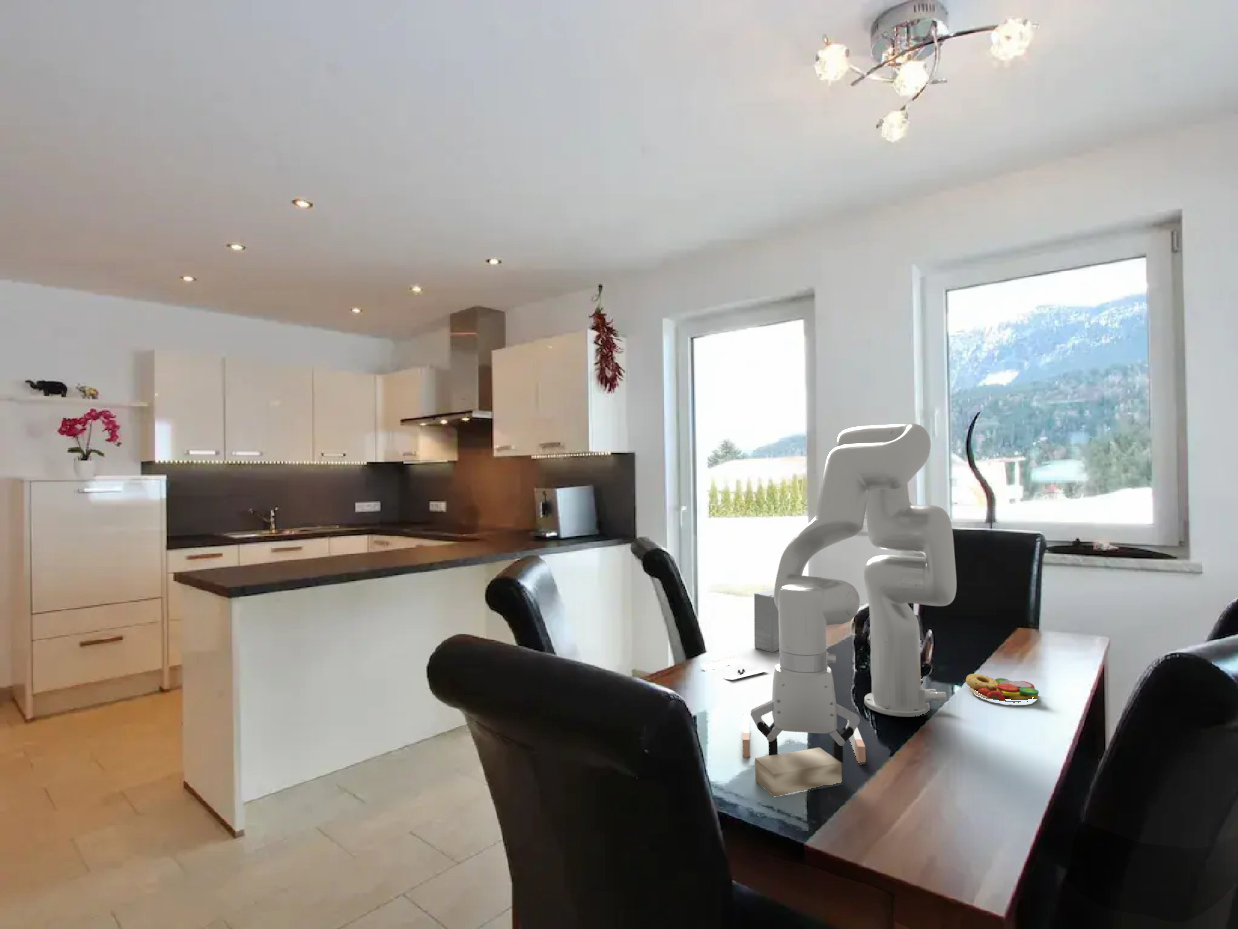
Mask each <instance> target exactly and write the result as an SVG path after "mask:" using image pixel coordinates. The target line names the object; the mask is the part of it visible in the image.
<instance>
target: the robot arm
mask: <svg viewBox="0 0 1238 929" xmlns="http://www.w3.org/2000/svg"><path fill="white" fill-rule="evenodd" d="M836 441H837V442H836V445H837V446H836V447H834V448H833V449H832V450H831V451H830V452H829V453H828V455H827V457H826V460H825V465H824V470H823V474H822V479H821V484H820V488H819V494H818V498H817V504H816V508H815V514H814V516H813V519H812V520H811V521H810V522H809V523H808V524H807V525H805V526H804V527H802V529H800V531H799V532H798V533H797V534H795V536H794V537H793V539H792V540H791V541H790V542H789V544H788V545H787V546H786V548H785V549H784V551H783V553H782V555H781V558H780V560H779V564H778V570H777V574H776V578H775V582H774V588H773V589H774V600H775V604H776V607H777V609H778V611H779V650H778V651H779V653H778V654H779V663H778V664H776V665H775V666H774V670H773V671H774V672H773V678H772V696H771V697H772V699H771V700H770V701H769V700H768V701H766V702H765V703H763V704H761V705H758V706H756V707H754V708H752V709H751V710H750V717H751V719H752V720H753V721H754V724H755V726H756V728H757V730H758V731H760V733H761V734H762V735H763V736H764V737H765V738H766V741H768V756H770V755H776V754H779V753H778V752H779V749H778V736H779V735H780V734H781V732H782V731H783V732H793V733H794V732H795V733H807V734H809V733H810V734H811V733H812V734H829V736H831V738H832V740H831V749H832V750H831V751H832V752H831V756H833V757H834V758H835V759H837V760H838V761H840V762H841V764H844V750H843V748H844V745H845V744H846V741H848V740H849V738H850V737H851V736H852V735H853V734H854V731H855V729H856V728H858V726H859V724H860V721H861V719H860V716H859V715H858V714H857V713H855V712H853V711H851V710H850V709H848V708H845V707H844V706H842V705H840V704H838V703H837V700H836V699H837V698H836V692H835V691H836V690H835V686H834V685H835V684H834V676H833V671H832V668H831V667H829V665H830V664H832V663H833V664H836V663H837V655H836V654H833V653H829V651H827V626H834V625H835V626H836V625H837V626H839V625H844V624H847V623H848V622H850V621H852V620H853V619H854V618H855V617H856V615H857V613H858V611H859V607H860V602H861V601H860V595H859V593H858V591H857V589H856V587H855V586H854V585H853V584H851V583H850V582H848V581H845V580H841V579H836V578H835V579H834V578H827V577H819V576H810V575H803V573H804V570H805V567H806V565H807V564H808V562H809V561H810V560H811V559H812V557H813V556H815V555H816V554H818V552H820V551H822V550H823V549H825V548H828V547H830V546H832V545H835V544H837V543H839V542H842V541H845V540H847V539H850V538H852V537H855V536H856V535H858V534H860V533H861V531H862V529H863V527H864V521H865V519H866V529H867V534H868V539H869V542H870V543H871V545H873V546H874V547H875V548H877V549H881V550H886V551H887V550H888V551H897V552H898V551H899V552H912V553H913V552H914V553H922V555H924V556H912V555H900V554H881V555H879V554H878V555H876V556H873V557H872V558H870V559H869V560H868V561H867V562H866V563H865V566H864V570H863V578H864V586H865V589H866V595H867V599H868V600H867V601H868V606H869V607H868V608H869V625H870V627H869V628H870V629H869V630H870V665H871V666H870V668H871V669H870V671H871V672H870V673H871V674H870V675H871V692H870V693H867V694H865V696H864V699H863V700H864V702H863V703H864V705H865V706H866V708H868V709H869V710H872V711H874V712H877V713H879V714H883V715H887V716H893V717H900V718H902V717H903V718H910V717H911V718H916V717H920V715H921V716H923V715H922V714H924V715H926V714H925V713H927V712H928V711H929V712H930V703H931V701H932V702H943V703H944V702H945V703H946V702H947V699H948V696H947V693H946V692H945V691H937V689H935V688H924V687H923V685H922V680H921V678H922V677H921V642H920V641H921V640H920V638H921V637H920V635H921V632H920V623H919V620H918V617H917V615H916V614H915V612H914V610H913V608H912V607H910V605H909V604H916V605H923V606H924V605H925V606H932V607H933V606H934V607H945V606H946V607H947V606H948V605H950V604H952V603H953V601H954V600H955V598H956V593H957V570H956V568H957V567H956V558H955V557H956V556H955V542H954V534H953V533H954V531H953V525H952V522H951V518H950V516H949V514H948V512H947V511H946V510H945V509H944V508H942V507H940V506H938V505H932V504H931V505H930V504H913V503H911V501H910V497H909V496H910V495H909V485H908V484H909V482H910V481H911V480H912V479H913V478H914V477H915V475H916V474H918V473H919V471H920V470H921V469H922V468H923V467H924V465H925V464H926V462H927V461H928V459H929V457H930V452H931V438H930V435H929V432H928V431H927V429H926V428H925V427H924V426H922V425H921V424H917V423H897V424H896V423H895V424H876V425H862V426H856V427H849V428H847V429H844V430H842V431H841V432H839V434H838V436H837V440H836ZM865 515H866V517H865ZM929 712H928V713H929ZM768 713H771V714H772V719H773V722H772V723H771V724H770V725H768V724H767V723H766V722H765V721H764V720H763V718H762V716H765V715H766V714H768ZM928 713H927V714H928ZM838 716H840V717H841V718H844V719H845V720H847V724H845V726H844V727H842V728H841V729H840V730H839V728H838ZM915 716H916V717H915Z"/></svg>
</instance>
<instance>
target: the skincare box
mask: <svg viewBox="0 0 1238 929" xmlns="http://www.w3.org/2000/svg"><path fill="white" fill-rule="evenodd" d="M774 589H775V588H769V589H766V590H761V591H759V592H755V593H753V595H754V598H753V599H754V600H753V601H754V607H753V608H754V614H753V615H754V623H753V624H754V635H753V636H754V649H758V650H763V651H767V652H770V653H774V652H776V651H779V611H778V609H777V607H776V604H775V600H774Z"/></svg>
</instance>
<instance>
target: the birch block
mask: <svg viewBox="0 0 1238 929" xmlns="http://www.w3.org/2000/svg"><path fill="white" fill-rule="evenodd" d="M754 771H755V772H754V773H755V777H754V778H755V779H754V780H755V782H757V783H758V784H759V785H760V786H761V785H762V786H763V787H764V788H765V789H766V790H765V789H764V788H763V787H762V786H761V787H762V788H763V789H764V790H765V791H766V792H768V791H769V792H770V793H771V794H772V795H773V796H780V795H785V794H788V793H793V792H797V791H804V790H808V789H811V788H816V787H820V786H823V785H833V784H836V783H841V782H842V783H843V780H842V779H843V777H842V776H843V774H842V763H841V762H840V761H838V760H837V759H835V758H834V757H833V756H832V754H830V753H828V752H827V751H825V750H824V749H822V748H821V747H814V748H807V749H803V750H796V751H789V752H783V753H778V754H776V755H770V756H769V755H765V756H758V757H754ZM769 792H768V793H769ZM770 793H769V794H770ZM771 794H770V795H771ZM772 795H771V796H772ZM773 796H772V797H773Z"/></svg>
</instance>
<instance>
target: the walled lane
mask: <svg viewBox="0 0 1238 929" xmlns="http://www.w3.org/2000/svg"><path fill="white" fill-rule="evenodd" d="M750 717H751V714H746V713H745V714H743V717H742V718H743V720H742V757H744V758H751V749H750V748H751V720H750V719H751V718H750ZM848 740H849V742H851V743H850V746H851V745H852V746H851V748H852V751H853V750H854V751H853V754H854V753H855V754H854V756H856V757H855V759H856V762H857V761H858V762H857V764H858V763H860V762H866V761H867V760H866V759H867V758H866V745H865V743H864V740H863V737H862V735H861V732H860V731H859V728H858V727H857V728H856V729H855V731H854V734H853V735H852V736H851V737H850V738H849V739H848Z"/></svg>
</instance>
